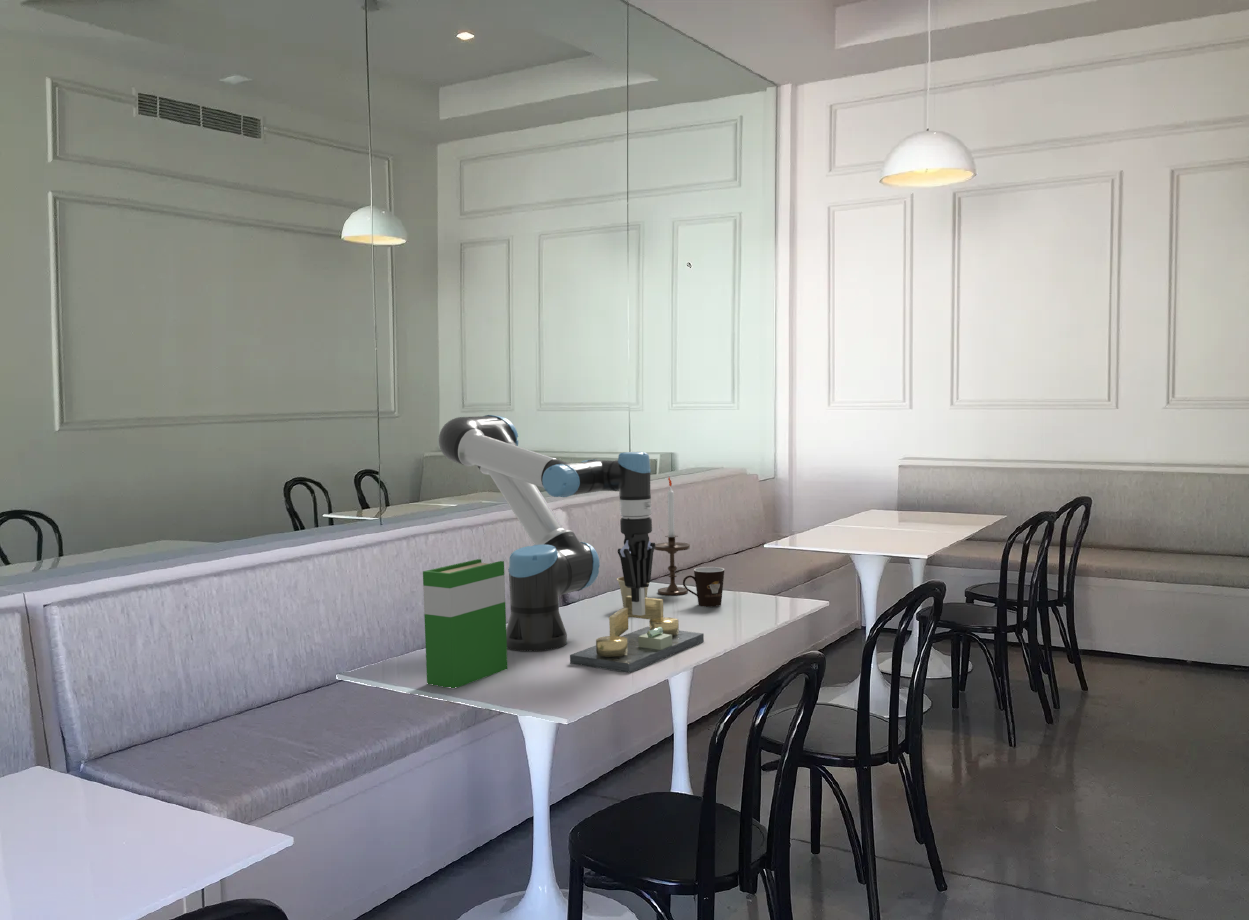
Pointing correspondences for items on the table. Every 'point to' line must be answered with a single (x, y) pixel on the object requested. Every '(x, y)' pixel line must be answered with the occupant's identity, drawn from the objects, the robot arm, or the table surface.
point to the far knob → (655, 615)
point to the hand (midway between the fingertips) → (638, 614)
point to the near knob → (614, 636)
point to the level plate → (640, 650)
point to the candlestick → (672, 549)
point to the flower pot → (626, 590)
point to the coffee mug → (708, 585)
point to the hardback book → (464, 622)
